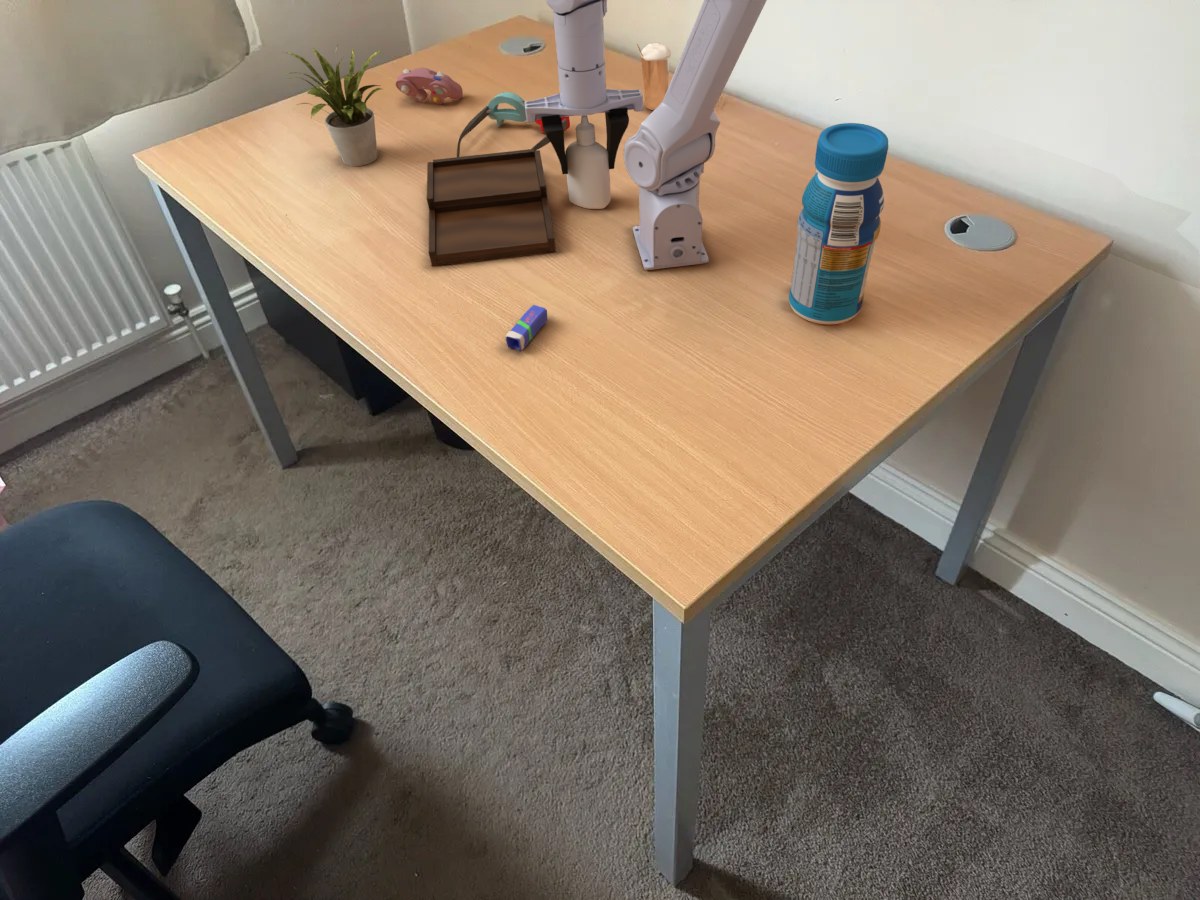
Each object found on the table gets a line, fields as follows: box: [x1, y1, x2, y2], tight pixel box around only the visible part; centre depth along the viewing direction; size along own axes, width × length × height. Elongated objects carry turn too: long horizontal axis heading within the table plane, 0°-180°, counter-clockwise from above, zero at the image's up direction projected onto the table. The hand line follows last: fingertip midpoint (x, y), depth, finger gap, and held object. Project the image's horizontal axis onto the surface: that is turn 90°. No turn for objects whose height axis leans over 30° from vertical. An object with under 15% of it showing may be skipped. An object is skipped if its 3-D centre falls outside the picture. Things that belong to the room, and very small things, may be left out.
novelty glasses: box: [456, 91, 571, 157], centre depth 125 cm, size 14×15×5 cm
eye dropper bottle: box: [565, 115, 612, 210], centre depth 110 cm, size 4×6×12 cm
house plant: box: [282, 44, 384, 167], centre depth 121 cm, size 14×14×16 cm
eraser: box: [504, 304, 548, 352], centre depth 95 cm, size 2×6×2 cm, turn 152°
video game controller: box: [395, 67, 464, 105], centre depth 137 cm, size 10×5×7 cm
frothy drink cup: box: [636, 42, 672, 111], centre depth 130 cm, size 5×5×10 cm
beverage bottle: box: [788, 122, 889, 325], centre depth 89 cm, size 8×8×20 cm
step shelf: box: [426, 148, 557, 267], centre depth 112 cm, size 20×16×4 cm
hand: (587, 168), depth 111 cm, fingers closed on eye dropper bottle, 5 cm apart
